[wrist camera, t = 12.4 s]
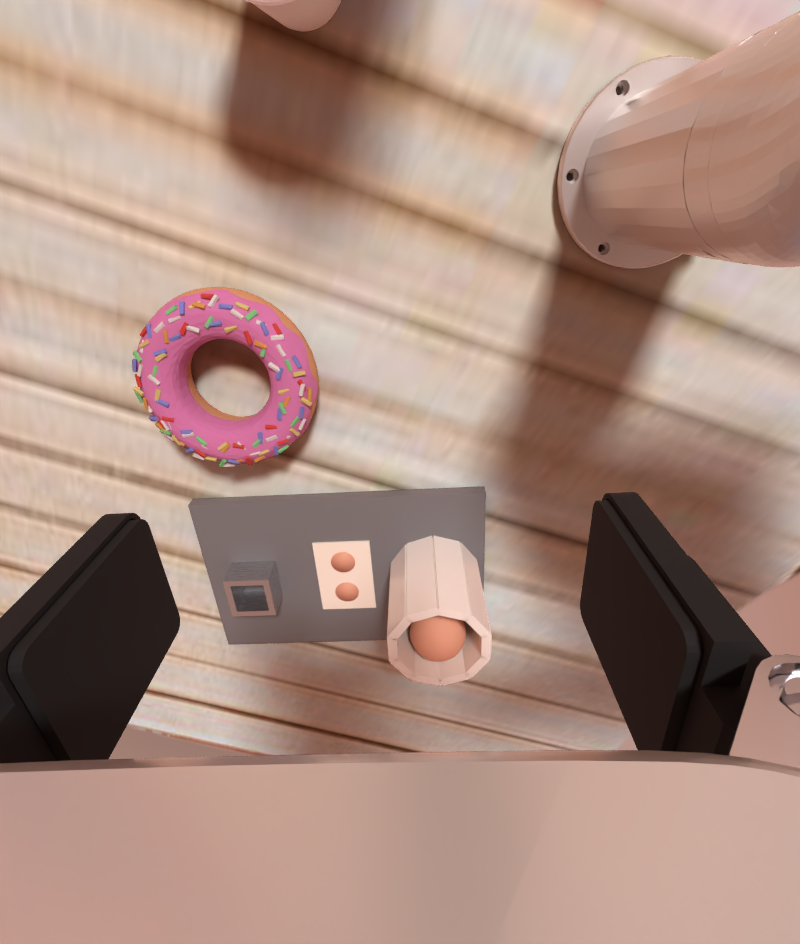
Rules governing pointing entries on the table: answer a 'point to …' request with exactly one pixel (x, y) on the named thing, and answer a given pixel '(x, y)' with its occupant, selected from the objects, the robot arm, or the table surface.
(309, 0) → the dixie cup
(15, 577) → the table surface
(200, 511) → the board
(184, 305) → the donut
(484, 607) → the tube
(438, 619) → the ball
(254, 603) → the grey hollow block
